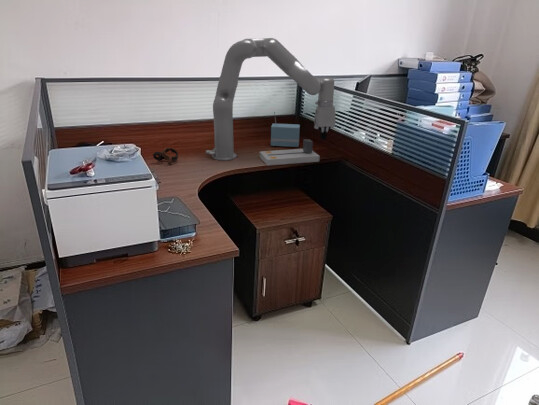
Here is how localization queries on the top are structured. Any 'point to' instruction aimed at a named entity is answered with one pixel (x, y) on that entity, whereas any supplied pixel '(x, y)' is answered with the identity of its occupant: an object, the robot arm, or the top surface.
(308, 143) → the fader knob
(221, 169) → the top surface
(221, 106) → the robot arm
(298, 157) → the panel
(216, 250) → the top surface
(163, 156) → the dark linked rings
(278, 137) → the radio
